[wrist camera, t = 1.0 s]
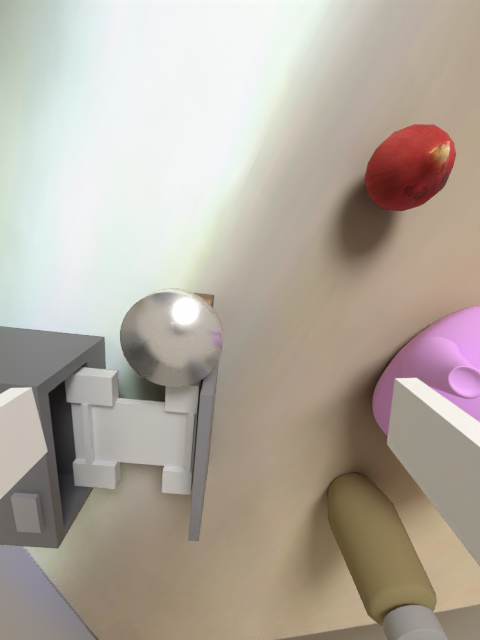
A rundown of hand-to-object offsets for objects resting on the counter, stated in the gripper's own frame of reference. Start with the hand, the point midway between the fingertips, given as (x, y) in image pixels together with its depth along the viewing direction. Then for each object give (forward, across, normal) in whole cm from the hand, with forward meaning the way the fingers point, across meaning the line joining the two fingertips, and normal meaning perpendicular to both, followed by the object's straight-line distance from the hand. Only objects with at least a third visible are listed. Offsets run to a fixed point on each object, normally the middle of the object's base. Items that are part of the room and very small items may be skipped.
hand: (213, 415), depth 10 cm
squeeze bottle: (+20, +15, -26) cm, 36 cm away
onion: (+18, +14, +12) cm, 26 cm away
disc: (+13, -5, -1) cm, 13 cm away
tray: (+19, -10, -12) cm, 24 cm away
